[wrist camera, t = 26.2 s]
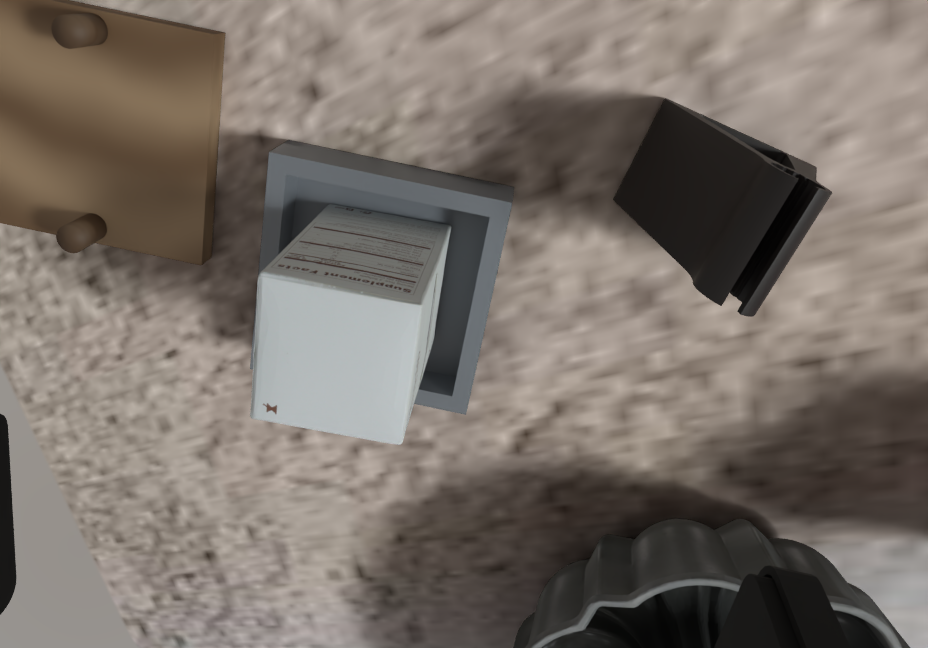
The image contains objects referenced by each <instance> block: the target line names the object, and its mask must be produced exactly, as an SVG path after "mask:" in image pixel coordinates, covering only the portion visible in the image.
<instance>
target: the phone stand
mask: <svg viewBox="0 0 928 648" xmlns="http://www.w3.org/2000/svg"><path fill="white" fill-rule="evenodd" d="M831 194H832V192H831V191H830V190H829V189H827V188H825V187H824V186H822V185H821V184H819V183H818V182H817V181H816V167H815V166H813V165H811V164H809V163H807V162H805V161H802V160H800V159H798V158H796V157H794V156H791V155H789V154H787V153H785V152H783V151H781V150H778V149H776V148H774V147H772V146H770V145H767V144H765V143H763V142H761V141H759V140H756V139H754V138H752V137H750V136H748V135H745V134H743V133H741V132H738V131H737V130H734V129H732V128H730V127H728V126H726V125H723V124H721V123H719V122H717V121H715V120H713V119H710V118H708V117H706V116H704V115H702V114H699V113H697V112H695V111H693V110H691V109H688V108H686V107H684V106H682V105H680V104H677V103H675V102H673V101H671V100H669V99H666V98H665V100H664V102H663V104H662V106H661V108H660V110H659V111H658V113H657V115H656V117H655V119H654V121H653V123H652V125H651V127H650V129H649V131H648V133H647V135H646V137H645V139H644V141H643V143H642V145H641V147H640V148H639V150H638V152H637V154H636V156H635V158H634V160H633V162H632V164H631V166H630V168H629V170H628V172H627V174H626V176H625V178H624V180H623V182H622V184H621V185H620V187H619V189H618V191H617V193H616V195H615V197H614V199H613V200H614V201H615V202H616V203H617V204H618V205H619V206H620V207H621V208H622V209H623V210H624V211H625V212H626V213H627V214H628V215H629V216H631V217H632V218H633V219H634V220H635V221H636V222H637V223H638V224H639V225H640V226H641V227H642V228H643V229H644V230H645V231H646V232H647V233H648V234H649V235H650V236H651V237H652V238H653V239H654V240H655V241H656V242H657V243H658V244H659V245H660V246H661V247H663V248H664V249H665V250H666V251H667V252H668V253H669V254H670V255H671V256H672V257H673V258H674V259H675V260H676V261H677V262H678V263H679V264H680V265H681V266H682V267H683V268H684V269H685V270H686V271H687V272H688V273H689V274H690V276H691V277H692V280H693V285H694V286H695V287H696V289H697V290H698V291H700V292H701V293H702V294H703V295H705V296H706V297H707V298H709V299H710V300H712V301H713V302H715V303H717V304H719V305H720V306H722V304H723V302H724V301H725V299H726V297H727V296H728V294H729V292H730V293H731V294H732V295H733V296H735V297H737V299H739V300H740V301H741V302H742V304H741V306H740V308H739V309H738V312H739V313H740V314H741V315H744V316H754V315H755V314H756V312H757V311H758V309H759V308H760V306H761V304H762V303H763V301H764V300H765V298H766V297H767V295H768V293H769V292H770V290H771V289H772V287H773V285H774V284H775V282H776V281H777V279H778V278H779V276H780V274H781V273H782V271H783V270H784V268H785V267H786V265H787V263H788V262H789V260H790V259H791V257H792V255H793V254H794V252H795V251H796V249H797V248H798V246H799V244H800V243H801V241H802V240H803V238H804V237H805V235H806V233H807V232H808V230H809V229H810V227H811V225H812V224H813V222H814V221H815V219H816V218H817V216H818V214H819V213H820V211H821V210H822V208H823V207H824V205H825V203H826V202H827V200H828V199H829V197H830V195H831Z"/></svg>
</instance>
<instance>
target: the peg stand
mask: <svg viewBox="0 0 928 648" xmlns="http://www.w3.org/2000/svg"><path fill="white" fill-rule="evenodd" d="M224 43H225V33H223V32H219V31H214V30H209V29H204V28H199V27H195V26H190V25H185V24H180V23H175V22H170V21H166V20H161V19H156V18H151V17H146V16H142V15H137V14H132V13H127V12H122V11H118V10H113V9H108V8H103V7H98V6H94V5H89V4H84V3H79V2H74V1H70V0H0V223H3V224H8V225H12V226H17V227H22V228H27V229H31V230H36V231H41V232H46V233H50V234H55V235H56V238H57V242H58V244H59V245H60V247H61V248H62V249H64V250H65V251H67V252H70V253H77V252H80V251H81V250H83V249H85V248H86V247H88V246H90V245H92V244H93V243H98V244H103V245H107V246H112V247H117V248H121V249H126V250H131V251H136V252H140V253H145V254H150V255H155V256H159V257H164V258H169V259H174V260H178V261H183V262H188V263H193V264H197V265H203V264H204V263H205V262H206V261H208V260H209V259H210V258H211V256H212V239H213V223H214V207H215V190H216V174H217V157H218V141H219V125H220V108H221V92H222V76H223V59H224Z"/></svg>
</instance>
